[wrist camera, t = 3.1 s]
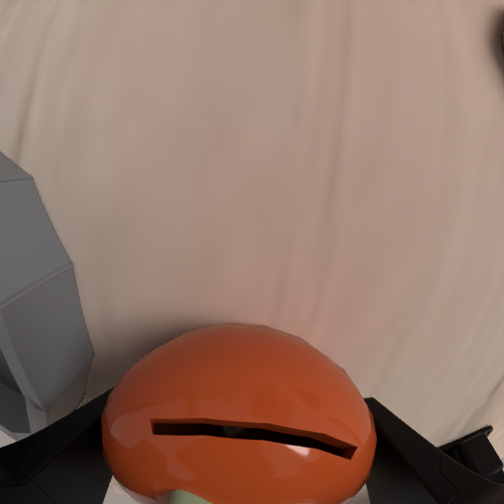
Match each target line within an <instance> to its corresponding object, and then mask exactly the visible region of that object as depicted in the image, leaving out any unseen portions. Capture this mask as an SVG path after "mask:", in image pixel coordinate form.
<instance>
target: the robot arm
mask: <svg viewBox="0 0 504 504" xmlns="http://www.w3.org/2000/svg"><path fill="white" fill-rule="evenodd" d="M114 388H115V387H113V388H112V389H110V390H108V391H107V392H105V393H103V394H102V395H100V396H98V397H97V398H95V399H93V400H92V401H90V402H88V403H87V404H85V405H83V406H82V407H80V408H78V409H77V410H75V411H73V412H71V413H70V414H68V415H66V416H64V417H63V418H61V419H59V420H57V421H56V422H54V423H52V424H50V425H49V426H47V427H45V428H43V429H41V430H39V431H38V432H36V433H34V434H32V435H30V436H28V437H26V438H24V439H21V440H19V441H17V442H15V443H12V444H9V445H7V446H4V447H1V448H0V504H103V501H104V498H105V495H106V492H107V489H108V487H109V484H110V481H111V478H112V476H113V474H112V472H111V470H110V469H109V467H108V465H107V463H106V461H105V459H104V456H103V446H102V431H101V415H102V412H103V410H104V407H105V404H106V402H107V399H108V397H109V394H110V393H111V392H112V390H113V389H114ZM363 399H364V401H365V403H366V404H367V406H368V408H369V410H370V411H371V413H372V415H373V420H374V425H375V431H376V437H377V442H376V450H375V457H374V462H373V465H372V469H371V472H370V475H369V479H368V480H367V482H366V486H367V490H368V495H369V499H370V503H371V504H504V472H503V470H502V468H503V463H502V461H501V459H500V458H499V456H498V454H497V453H496V451H495V450H494V448H493V446H492V445H491V443H490V441H489V440H488V438H487V437H488V436H489V434H490V433H491V432H492V430H493V427H492V426H491V425H490V426H488V427H486V428H484V429H482V430H480V431H478V432H476V433H474V434H472V435H470V436H467V437H465V438H463V439H461V440H458V441H456V442H454V443H451V444H449V445H446V446H444V447H441V448H439V449H438V448H437V447H435V446H434V445H433V444H431V443H430V442H429V441H427V440H426V439H425V438H424V437H422V436H421V435H420V434H418V433H417V432H416V431H415V430H413V429H412V428H411V427H409V426H408V425H407V424H406V423H404V422H403V421H402V420H401V419H399V418H398V417H397V416H396V415H394V414H393V413H392V412H391V411H389V410H388V409H387V408H386V407H384V406H383V405H382V404H381V403H379V402H378V401H377V400H376V399H375V398H373V397H369V398H363Z"/></svg>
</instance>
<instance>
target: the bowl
mask: <svg viewBox="0 0 504 504" xmlns="http://www.w3.org/2000/svg"><path fill="white" fill-rule="evenodd" d="M73 266H74V265H73V263H72V261H71V260H70V258H69V256H68V255H67V253H66V251H65V249H64V247H63V245H62V243H61V241H60V239H59V237H58V235H57V233H56V231H55V229H54V227H53V225H52V223H51V221H50V219H49V217H48V214H47V212H46V210H45V208H44V205H43V203H42V201H41V198H40V196H39V194H38V191H37V189H36V186H35V184H34V181H33V177H32V176H31V175H29V174H28V173H26V172H25V171H24V170H23V169H21V168H20V167H19V166H18V165H16V164H15V163H14V162H12V161H11V160H10V159H9V158H8V157H6V156H5V155H4V154H3V153H1V152H0V430H1V431H3V432H4V433H6V434H7V435H8V436H10V437H11V438H13V439H14V440H16V441H19V440H21V439H24V438H26V437H28V436H30V435H32V434H34V433H36V432H38V431H39V430H41V429H43V428H45V427H47V426H49V425H50V424H52V423H54V422H56V421H57V420H59V419H61V418H63V417H64V416H66V415H68V414H70V413H71V412H73V411H75V410H76V408H77V407H78V405H79V404H80V402H81V401H82V400H83V398H84V397H83V395H84V391H85V386H86V382H87V378H88V373H89V369H90V365H91V361H92V358H93V355H94V351H93V349H92V346H91V342H90V339H89V335H88V332H87V328H86V325H85V321H84V317H83V313H82V309H81V304H80V300H79V295H78V291H77V286H76V280H75V275H74V269H73Z"/></svg>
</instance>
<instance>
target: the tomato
mask: <svg viewBox="0 0 504 504" xmlns="http://www.w3.org/2000/svg"><path fill="white" fill-rule="evenodd" d="M101 431H102V446H103V456H104V459H105V461H106V463H107V465H108V467H109V469H110V470H111V472H112V474H113V476H114V477H115V479H116V480H117V482H118V483H119V484H120V486H121V487H122V488H123V490H124V491H125V492H126V493H128V494H129V495H130V496H131V497H132V498H133V499H134V500H135V501H137V502H138V503H139V504H348V503H349V502H350V501H351V500H352V499H353V498H354V497H355V496H356V494H357V493H358V492H359V491H360V489H361V488H362V487H363V486H364V484H365V483H366V482H367V480H368V479H369V475H370V472H371V469H372V465H373V462H374V457H375V450H376V442H377V437H376V431H375V425H374V420H373V415H372V413H371V411H370V410H369V408H368V406H367V404H366V403H365V401H364V399H363V397H362V396H361V394H360V392H359V391H358V389H357V388H356V386H355V385H354V383H353V382H352V380H351V379H350V377H349V376H348V374H347V373H346V372H345V370H344V369H343V368H341V367H340V366H339V365H338V364H336V363H335V362H334V361H332V360H331V359H330V358H329V357H327V356H326V355H325V354H323V353H322V352H320V351H319V350H318V349H316V348H315V347H313V346H312V345H310V344H309V343H308V342H306V341H305V340H303V339H302V338H301V337H298V336H295V335H292V334H289V333H286V332H283V331H280V330H277V329H274V328H271V327H268V326H264V325H255V324H240V323H225V324H220V325H214V326H208V327H202V328H196V329H192V330H190V331H188V332H186V333H184V334H182V335H180V336H178V337H176V338H174V339H172V340H171V341H169V342H167V343H165V344H163V345H161V346H159V347H157V348H155V349H154V350H152V351H150V352H148V353H146V354H144V355H143V356H142V357H141V358H140V359H139V360H138V361H137V362H136V363H135V364H134V365H133V366H132V367H131V368H130V369H129V370H128V371H127V372H126V373H125V374H124V376H123V377H122V378H121V380H120V381H119V382H118V384H117V385H116V386H115V388H114V389H113V390H112V392H111V393H110V394H109V397H108V399H107V402H106V404H105V407H104V410H103V412H102V415H101Z"/></svg>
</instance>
